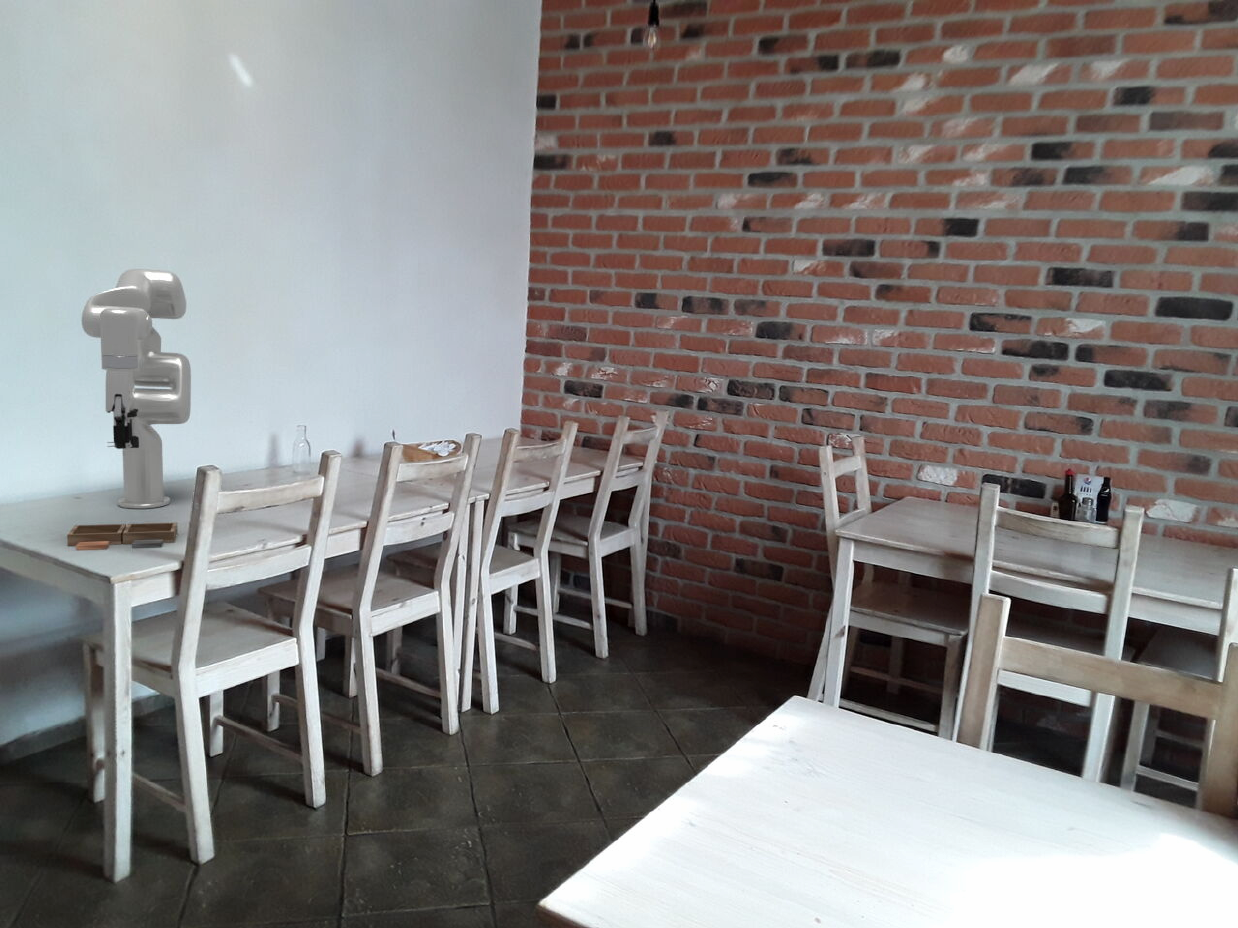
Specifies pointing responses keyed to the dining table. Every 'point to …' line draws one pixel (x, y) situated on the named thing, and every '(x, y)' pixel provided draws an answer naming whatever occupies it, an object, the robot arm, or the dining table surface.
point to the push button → (133, 439)
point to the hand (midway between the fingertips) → (123, 440)
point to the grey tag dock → (149, 534)
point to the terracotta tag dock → (95, 536)
